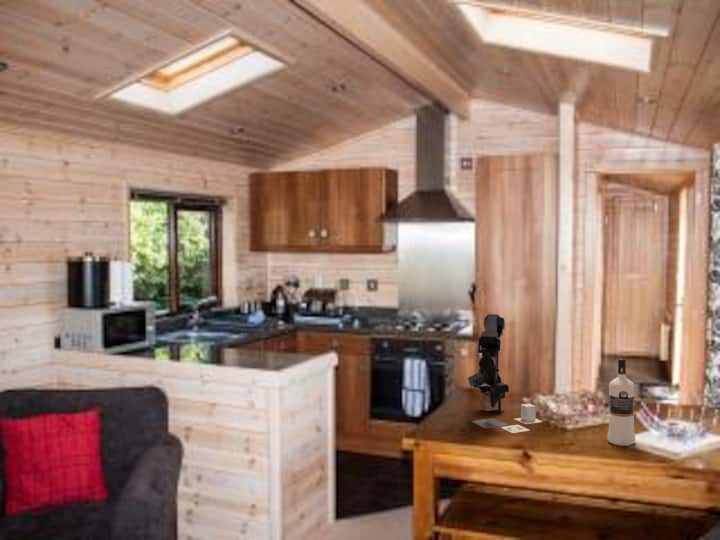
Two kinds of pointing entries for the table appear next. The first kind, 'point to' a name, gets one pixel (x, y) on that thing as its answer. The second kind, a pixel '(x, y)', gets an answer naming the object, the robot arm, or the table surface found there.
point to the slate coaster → (489, 423)
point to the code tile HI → (527, 422)
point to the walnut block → (487, 402)
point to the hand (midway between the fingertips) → (489, 405)
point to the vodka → (621, 408)
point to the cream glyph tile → (515, 428)
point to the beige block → (528, 412)
